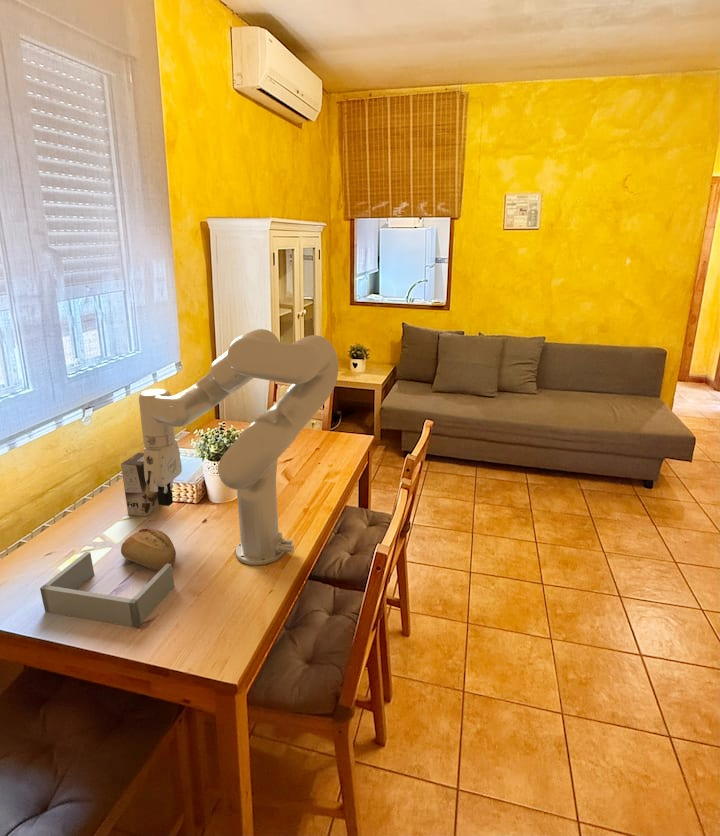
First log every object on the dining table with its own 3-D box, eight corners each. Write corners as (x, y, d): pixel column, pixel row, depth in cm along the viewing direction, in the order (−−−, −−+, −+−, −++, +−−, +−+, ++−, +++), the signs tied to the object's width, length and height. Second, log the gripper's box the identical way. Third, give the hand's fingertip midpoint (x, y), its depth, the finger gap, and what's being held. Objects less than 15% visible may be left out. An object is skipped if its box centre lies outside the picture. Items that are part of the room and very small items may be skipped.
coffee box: (147, 517, 156) (140, 465, 150) (127, 514, 157) (119, 463, 152) (164, 502, 164) (158, 453, 159) (145, 500, 165) (138, 451, 160)
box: (174, 586, 125) (171, 564, 123) (137, 627, 112) (133, 603, 110) (89, 573, 130) (85, 551, 128) (45, 611, 117) (39, 588, 115)
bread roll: (141, 545, 142) (137, 518, 139) (187, 558, 136) (184, 530, 134) (112, 564, 134) (107, 536, 131) (159, 579, 128) (155, 550, 125)
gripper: (155, 451, 127) (162, 520, 133) (188, 430, 141) (193, 493, 147) (127, 447, 129) (135, 516, 135) (162, 427, 142) (168, 489, 148)
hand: (165, 504), depth 141 cm, fingers closed
